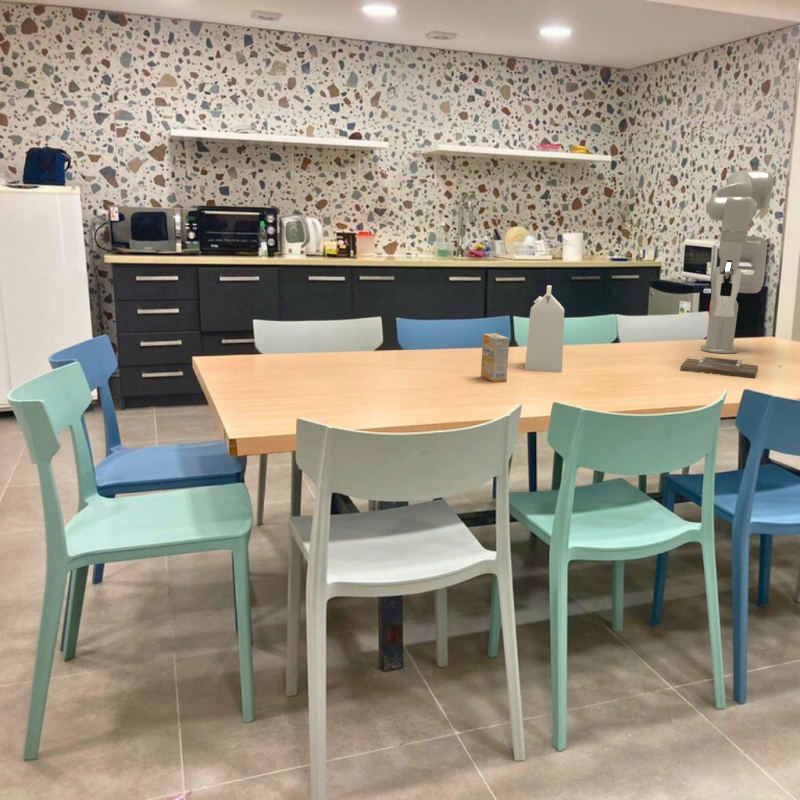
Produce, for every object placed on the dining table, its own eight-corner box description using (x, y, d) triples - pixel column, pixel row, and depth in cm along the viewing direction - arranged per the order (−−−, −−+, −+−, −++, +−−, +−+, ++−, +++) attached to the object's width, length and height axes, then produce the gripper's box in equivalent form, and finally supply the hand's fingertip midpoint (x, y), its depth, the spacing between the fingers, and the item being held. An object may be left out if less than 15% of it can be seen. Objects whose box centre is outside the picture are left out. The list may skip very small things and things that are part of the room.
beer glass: (737, 317, 239) (744, 269, 236) (714, 316, 241) (720, 268, 237) (733, 314, 246) (739, 268, 242) (710, 313, 247) (716, 267, 244)
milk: (561, 372, 237) (568, 288, 231) (524, 369, 239) (530, 286, 233) (561, 365, 249) (568, 285, 243) (526, 363, 251) (531, 283, 245)
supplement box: (479, 376, 227) (482, 333, 224) (494, 376, 228) (496, 332, 225) (492, 382, 219) (495, 337, 216) (507, 381, 221) (510, 337, 218)
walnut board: (686, 362, 259) (687, 354, 258) (757, 370, 249) (758, 361, 248) (680, 370, 245) (681, 361, 244) (754, 378, 235) (756, 368, 235)
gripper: (723, 236, 247) (717, 292, 251) (717, 237, 232) (710, 296, 236) (749, 237, 243) (741, 293, 247) (744, 238, 228) (736, 298, 233)
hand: (726, 294), depth 242 cm, fingers closed on beer glass, 6 cm apart
